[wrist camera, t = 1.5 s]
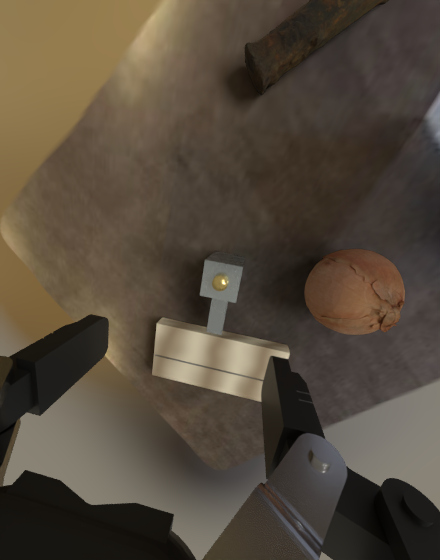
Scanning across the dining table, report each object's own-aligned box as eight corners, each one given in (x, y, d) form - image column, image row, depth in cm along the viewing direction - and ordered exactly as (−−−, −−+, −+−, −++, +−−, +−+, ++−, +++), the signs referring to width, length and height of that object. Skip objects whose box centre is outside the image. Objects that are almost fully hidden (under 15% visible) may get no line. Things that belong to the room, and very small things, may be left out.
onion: (354, 280, 30) (437, 321, 22) (299, 317, 30) (361, 373, 21) (342, 222, 25) (441, 246, 17) (276, 266, 25) (343, 313, 17)
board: (287, 344, 31) (289, 353, 29) (273, 394, 34) (274, 405, 32) (162, 317, 33) (156, 323, 31) (157, 366, 35) (151, 375, 33)
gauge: (245, 256, 29) (242, 268, 21) (231, 323, 31) (225, 354, 24) (215, 250, 29) (203, 261, 21) (205, 317, 32) (190, 346, 24)
